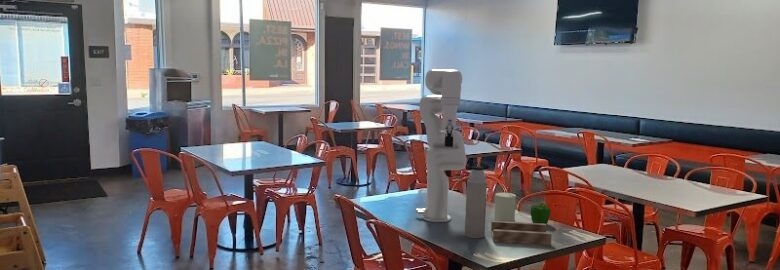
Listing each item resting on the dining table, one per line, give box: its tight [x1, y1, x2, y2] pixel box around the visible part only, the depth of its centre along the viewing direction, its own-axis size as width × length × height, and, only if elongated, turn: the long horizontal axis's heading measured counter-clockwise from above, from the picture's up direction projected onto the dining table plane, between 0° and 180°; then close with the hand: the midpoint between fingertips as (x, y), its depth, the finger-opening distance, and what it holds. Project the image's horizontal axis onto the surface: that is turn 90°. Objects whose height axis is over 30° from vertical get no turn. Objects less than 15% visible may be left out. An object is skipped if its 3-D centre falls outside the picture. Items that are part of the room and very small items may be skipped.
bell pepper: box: [529, 201, 551, 225], centre depth 259 cm, size 8×8×10 cm
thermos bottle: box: [464, 165, 488, 239], centre depth 237 cm, size 8×8×28 cm
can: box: [493, 192, 517, 222], centre depth 264 cm, size 9×9×12 cm
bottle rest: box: [490, 220, 552, 246], centre depth 237 cm, size 22×15×4 cm
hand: (448, 145), depth 236 cm, fingers open, 9 cm apart
